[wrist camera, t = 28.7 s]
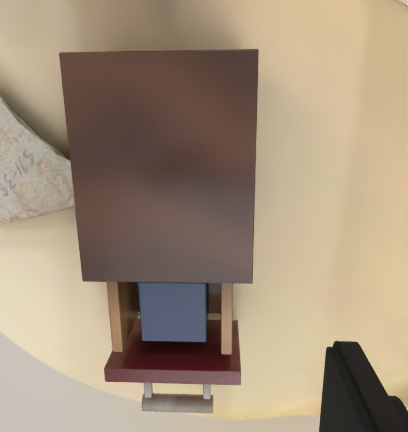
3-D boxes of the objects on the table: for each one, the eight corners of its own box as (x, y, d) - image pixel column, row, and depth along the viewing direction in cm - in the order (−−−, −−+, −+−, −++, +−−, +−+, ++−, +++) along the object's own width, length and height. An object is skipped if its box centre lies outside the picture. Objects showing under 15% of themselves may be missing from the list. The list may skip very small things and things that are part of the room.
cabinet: (245, 239, 35) (252, 283, 26) (117, 238, 35) (82, 281, 27) (248, 65, 31) (258, 48, 22) (104, 67, 31) (58, 52, 23)
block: (208, 257, 33) (205, 283, 28) (208, 309, 35) (206, 342, 30) (150, 256, 34) (138, 282, 29) (153, 308, 35) (141, 341, 30)
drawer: (236, 376, 38) (239, 437, 31) (130, 373, 38) (109, 433, 31) (239, 190, 33) (244, 212, 26) (117, 190, 33) (89, 212, 26)
